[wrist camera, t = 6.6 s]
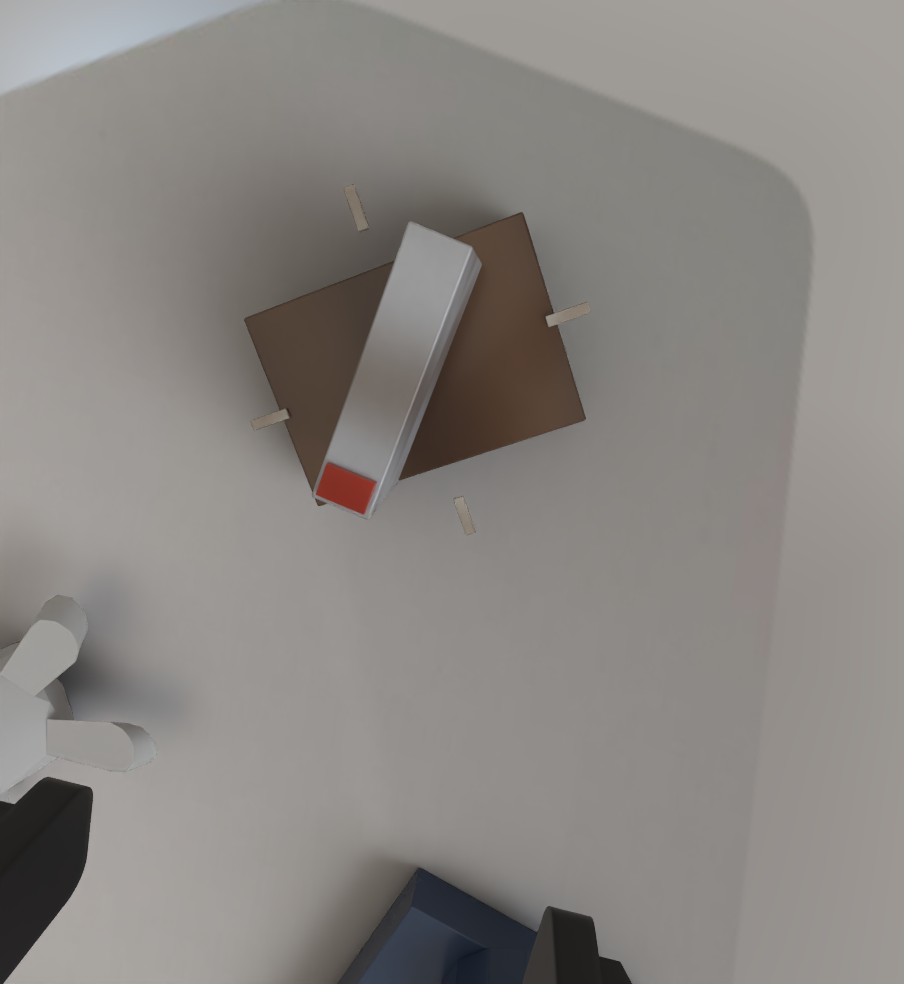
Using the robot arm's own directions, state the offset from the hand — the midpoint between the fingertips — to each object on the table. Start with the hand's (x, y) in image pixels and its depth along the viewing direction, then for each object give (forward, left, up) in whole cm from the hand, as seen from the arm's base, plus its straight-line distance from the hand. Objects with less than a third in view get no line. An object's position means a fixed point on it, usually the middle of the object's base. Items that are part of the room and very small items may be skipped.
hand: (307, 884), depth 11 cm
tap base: (-2, -8, -17) cm, 18 cm away
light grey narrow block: (-2, -7, -14) cm, 16 cm away
